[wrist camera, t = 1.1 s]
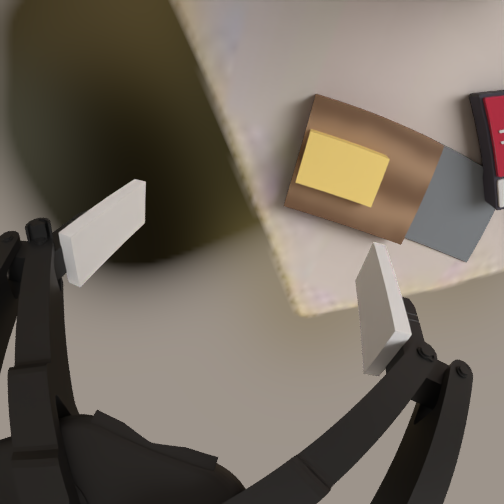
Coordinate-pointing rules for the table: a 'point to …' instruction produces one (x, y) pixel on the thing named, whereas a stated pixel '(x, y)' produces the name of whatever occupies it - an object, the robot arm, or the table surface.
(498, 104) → the calculator
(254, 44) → the table surface
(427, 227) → the mat
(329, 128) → the brown wooden slab
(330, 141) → the butter yellow block
